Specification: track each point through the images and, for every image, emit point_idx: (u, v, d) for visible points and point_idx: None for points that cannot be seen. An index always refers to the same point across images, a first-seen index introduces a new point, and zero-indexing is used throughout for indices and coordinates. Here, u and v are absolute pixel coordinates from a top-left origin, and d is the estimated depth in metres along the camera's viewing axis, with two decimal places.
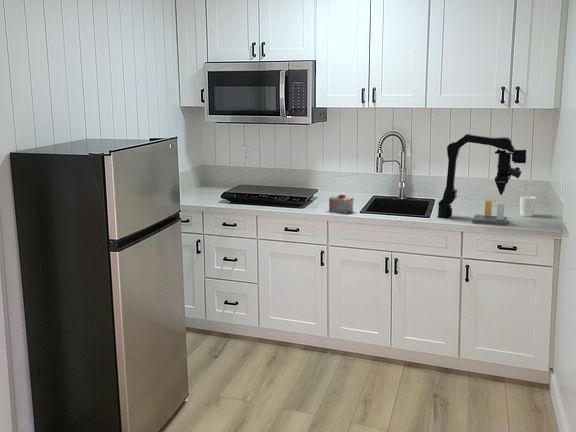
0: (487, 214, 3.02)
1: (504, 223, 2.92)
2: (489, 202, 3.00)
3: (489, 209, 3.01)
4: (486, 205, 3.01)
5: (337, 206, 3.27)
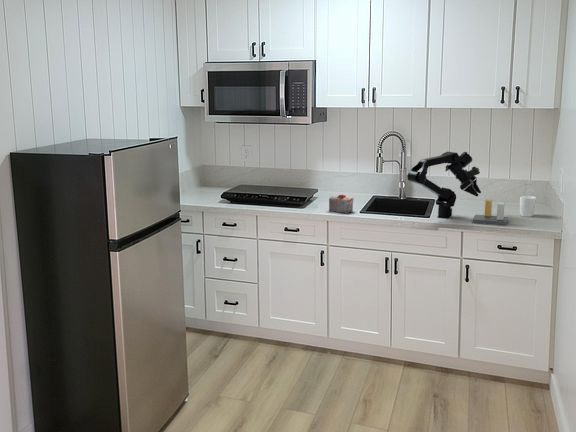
0: (487, 214, 3.02)
1: (504, 223, 2.92)
2: (489, 202, 3.00)
3: (489, 209, 3.01)
4: (486, 205, 3.01)
5: (337, 206, 3.27)
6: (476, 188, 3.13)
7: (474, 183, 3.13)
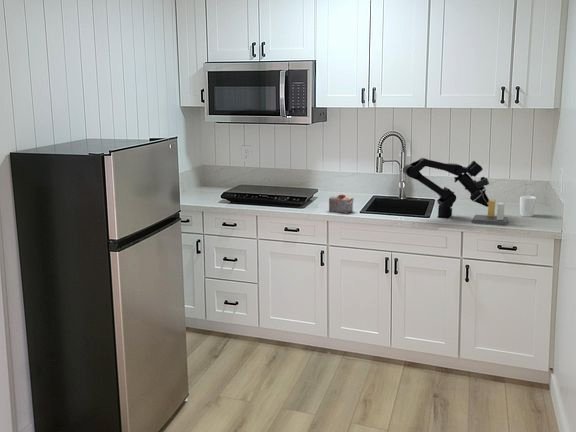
0: (490, 214, 3.01)
1: (504, 223, 2.92)
2: (492, 202, 3.00)
3: (492, 209, 3.00)
4: (489, 205, 3.01)
5: (337, 206, 3.28)
6: (485, 198, 3.12)
7: (483, 193, 3.12)
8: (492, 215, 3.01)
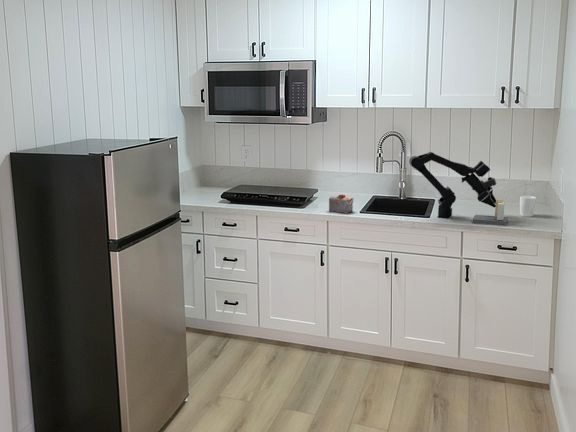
0: None
1: (504, 223, 2.92)
2: None
3: None
4: None
5: (337, 206, 3.28)
6: (492, 199, 3.10)
7: (490, 194, 3.11)
8: None
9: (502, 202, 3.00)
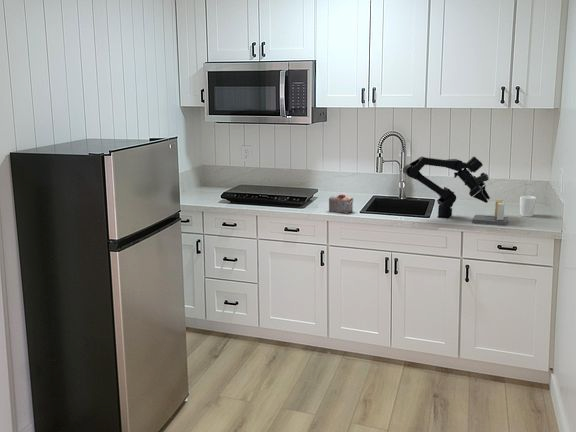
0: None
1: (504, 223, 2.92)
2: None
3: None
4: (496, 206, 2.99)
5: (337, 206, 3.28)
6: (485, 194, 3.11)
7: (483, 189, 3.12)
8: None
9: None
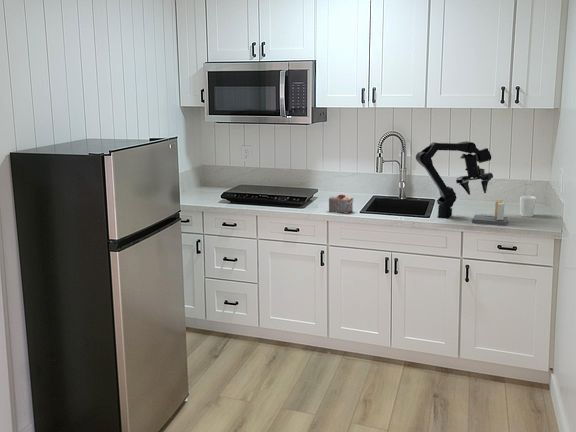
0: None
1: (504, 223, 2.92)
2: None
3: None
4: (496, 206, 2.99)
5: (337, 206, 3.28)
6: (468, 189, 3.14)
7: (467, 183, 3.14)
8: None
9: None
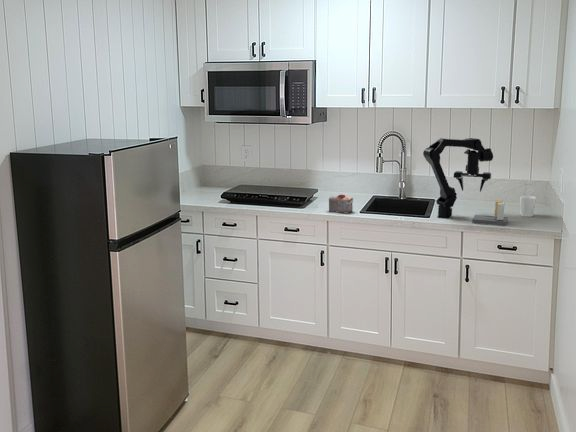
0: None
1: (504, 223, 2.92)
2: None
3: None
4: (496, 206, 2.99)
5: (337, 206, 3.28)
6: (462, 184, 3.16)
7: (462, 179, 3.16)
8: None
9: None
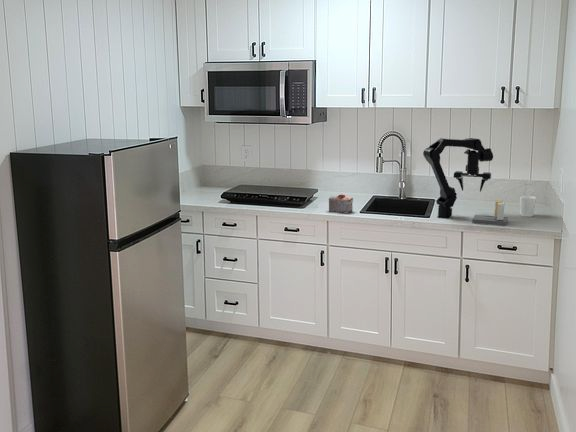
0: None
1: (504, 223, 2.92)
2: None
3: None
4: (496, 206, 2.99)
5: (337, 206, 3.28)
6: (462, 184, 3.16)
7: (462, 179, 3.16)
8: None
9: None
